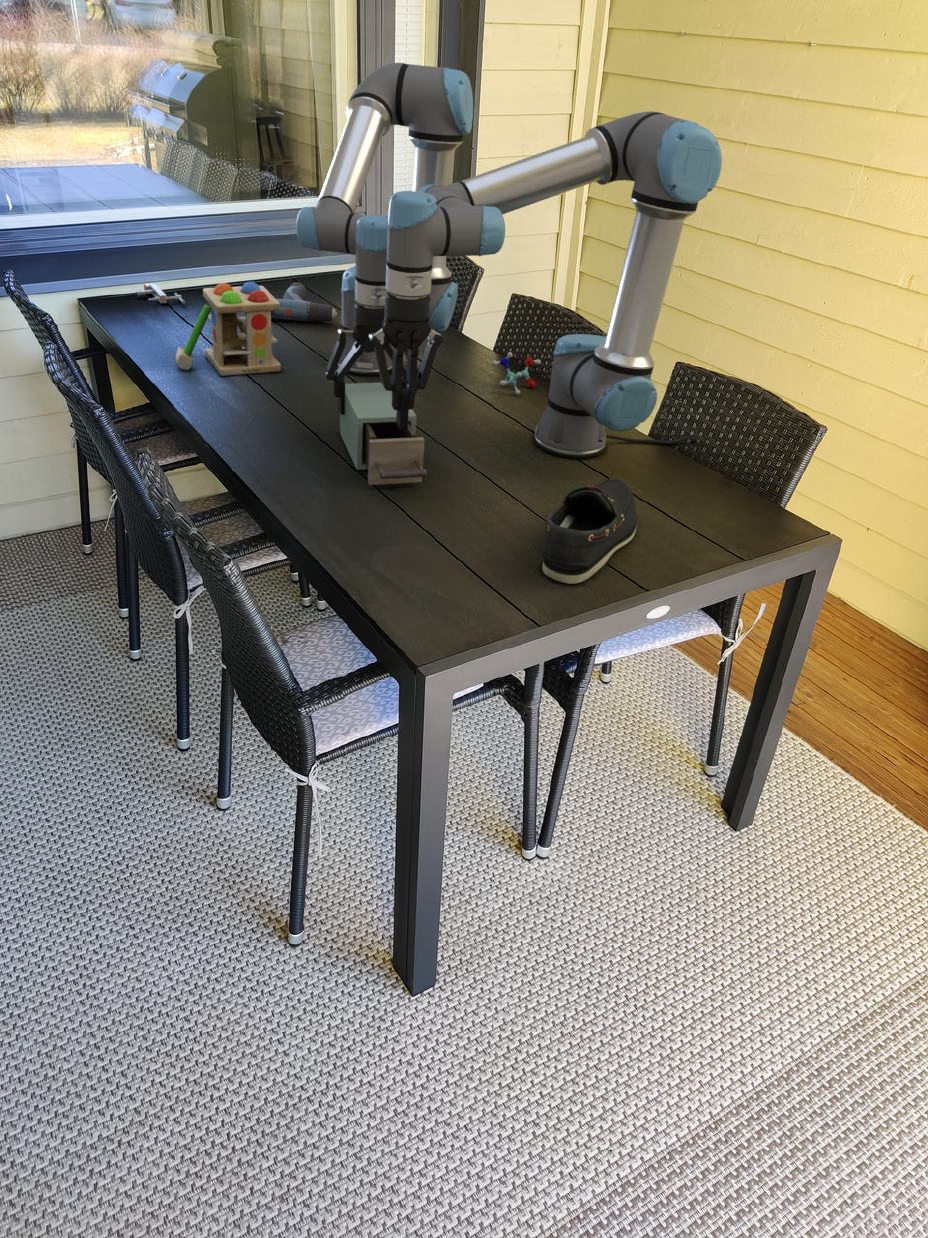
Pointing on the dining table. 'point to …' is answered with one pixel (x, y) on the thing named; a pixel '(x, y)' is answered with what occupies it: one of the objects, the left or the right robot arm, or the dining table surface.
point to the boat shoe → (588, 530)
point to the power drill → (301, 307)
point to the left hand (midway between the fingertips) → (371, 410)
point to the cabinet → (366, 415)
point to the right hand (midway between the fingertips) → (401, 425)
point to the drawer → (392, 454)
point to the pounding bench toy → (229, 347)
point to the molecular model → (511, 375)
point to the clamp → (158, 294)
